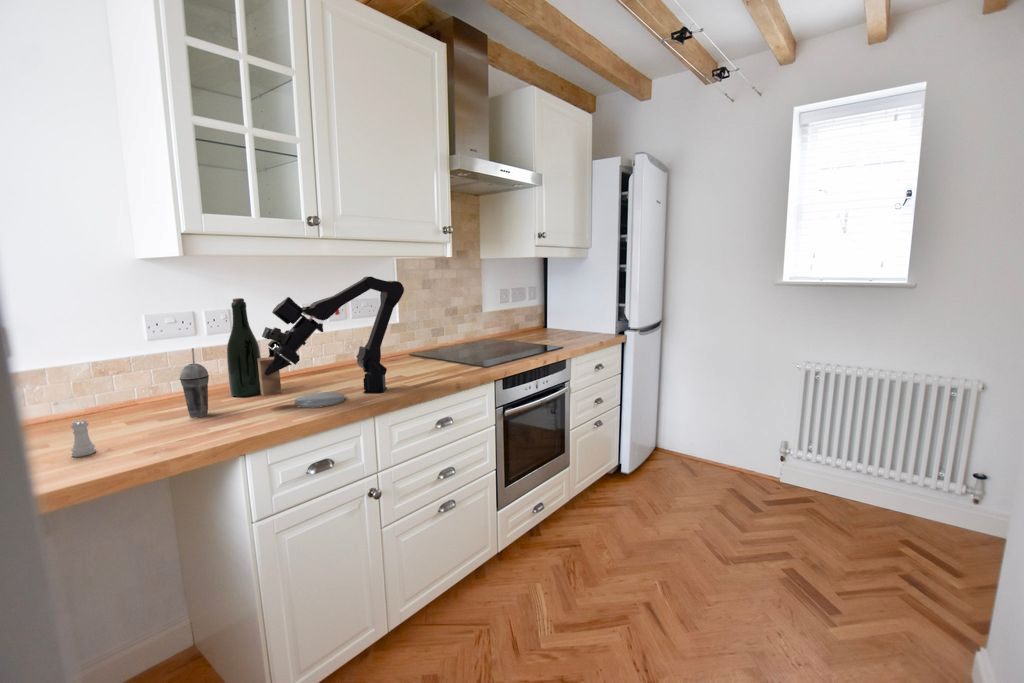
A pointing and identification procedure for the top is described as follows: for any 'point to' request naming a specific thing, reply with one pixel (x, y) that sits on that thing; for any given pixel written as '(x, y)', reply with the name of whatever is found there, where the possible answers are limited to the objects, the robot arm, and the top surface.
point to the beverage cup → (195, 388)
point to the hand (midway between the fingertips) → (264, 373)
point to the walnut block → (268, 378)
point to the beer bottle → (242, 354)
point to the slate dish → (319, 399)
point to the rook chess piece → (81, 440)
